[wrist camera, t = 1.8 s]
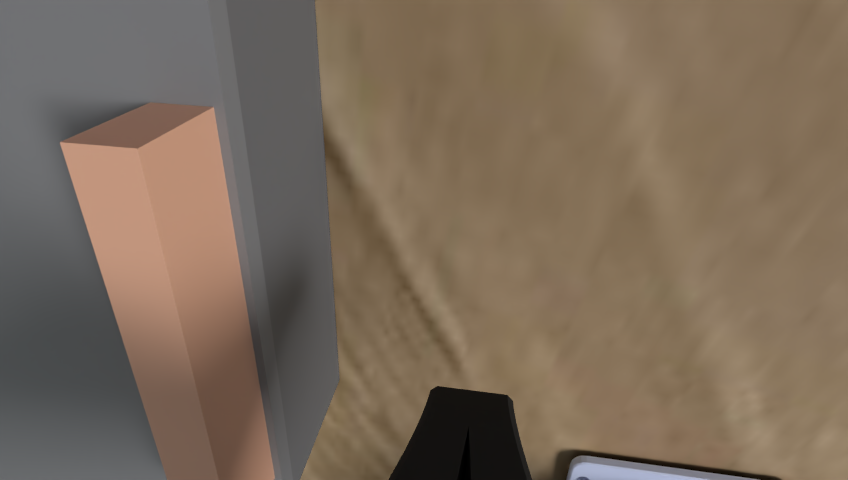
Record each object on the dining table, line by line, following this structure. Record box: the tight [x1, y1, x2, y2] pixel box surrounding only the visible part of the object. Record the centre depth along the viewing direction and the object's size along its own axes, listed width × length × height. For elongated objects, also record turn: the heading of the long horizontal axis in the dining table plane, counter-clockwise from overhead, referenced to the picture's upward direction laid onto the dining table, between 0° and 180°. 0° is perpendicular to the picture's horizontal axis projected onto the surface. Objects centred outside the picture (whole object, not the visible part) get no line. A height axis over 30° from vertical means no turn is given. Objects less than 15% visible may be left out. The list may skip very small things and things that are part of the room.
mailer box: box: [226, 0, 339, 480], centre depth 15 cm, size 14×12×5 cm
